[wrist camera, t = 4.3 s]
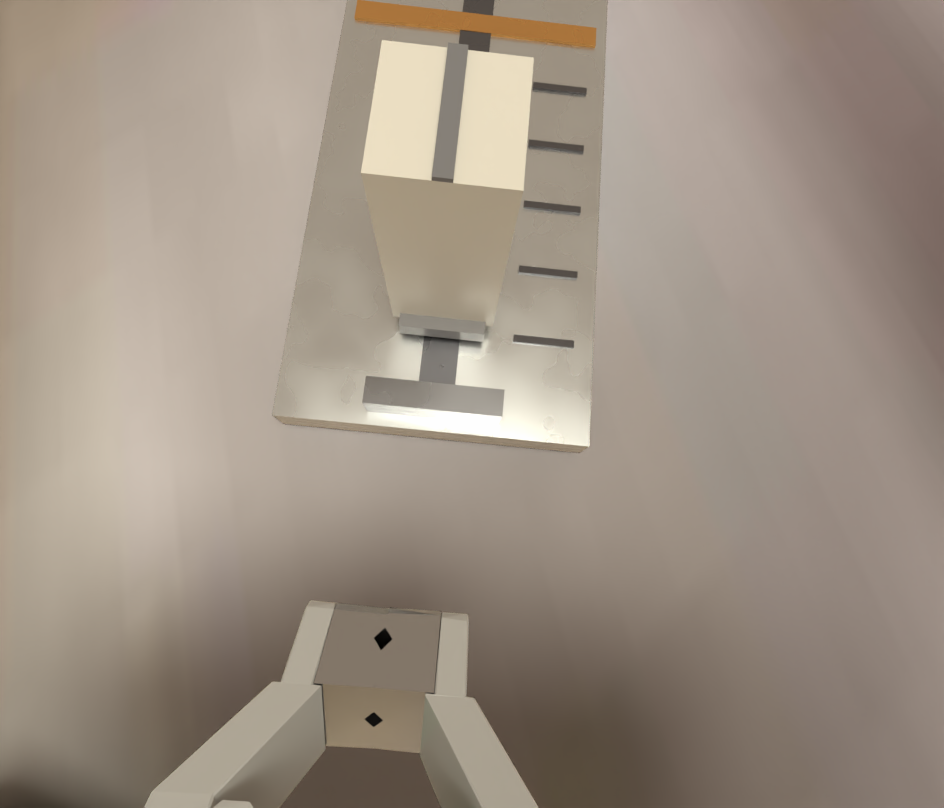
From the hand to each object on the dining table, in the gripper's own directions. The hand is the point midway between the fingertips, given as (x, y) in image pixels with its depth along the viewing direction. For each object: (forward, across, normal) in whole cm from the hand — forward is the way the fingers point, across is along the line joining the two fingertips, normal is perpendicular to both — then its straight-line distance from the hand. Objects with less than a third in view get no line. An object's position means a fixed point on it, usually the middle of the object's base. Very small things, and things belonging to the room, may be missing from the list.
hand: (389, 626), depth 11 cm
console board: (+21, 0, -5) cm, 22 cm away
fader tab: (+15, 0, -2) cm, 15 cm away
